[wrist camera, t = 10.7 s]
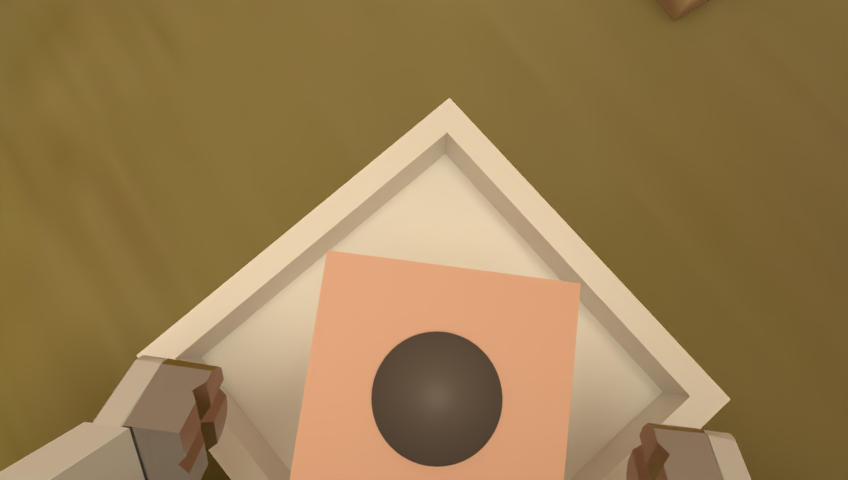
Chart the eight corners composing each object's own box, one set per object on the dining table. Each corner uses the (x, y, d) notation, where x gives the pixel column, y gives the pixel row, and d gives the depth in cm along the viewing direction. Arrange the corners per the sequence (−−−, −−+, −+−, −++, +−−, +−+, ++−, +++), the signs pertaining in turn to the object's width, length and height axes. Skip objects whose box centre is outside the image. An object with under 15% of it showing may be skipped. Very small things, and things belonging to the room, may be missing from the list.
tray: (690, 392, 19) (730, 399, 17) (410, 660, 18) (407, 712, 15) (446, 128, 21) (449, 98, 19) (174, 354, 20) (136, 355, 17)
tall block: (495, 458, 18) (558, 560, 10) (352, 438, 19) (281, 520, 10) (510, 313, 19) (582, 282, 10) (373, 295, 19) (326, 249, 10)
